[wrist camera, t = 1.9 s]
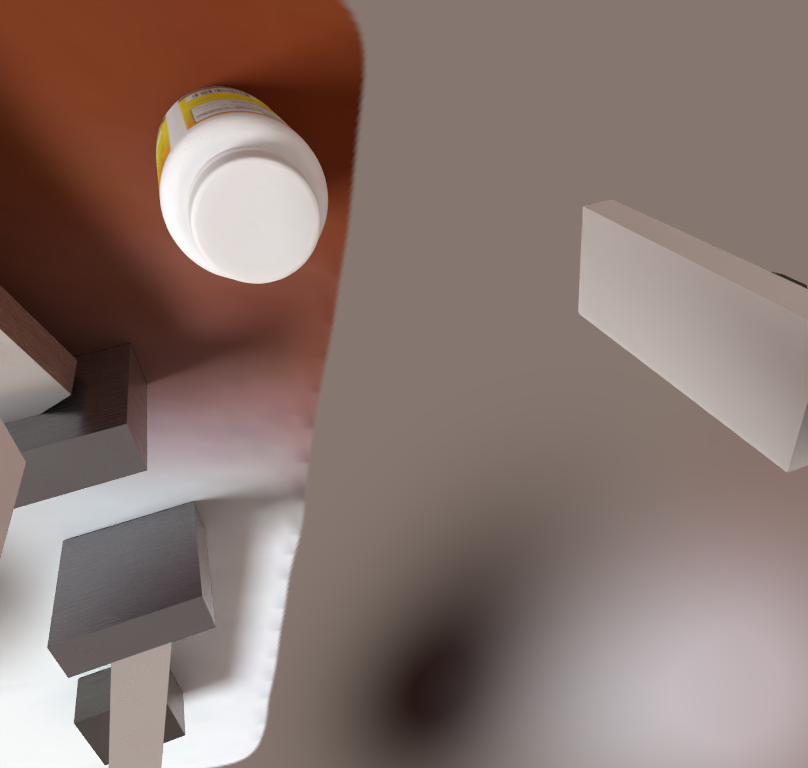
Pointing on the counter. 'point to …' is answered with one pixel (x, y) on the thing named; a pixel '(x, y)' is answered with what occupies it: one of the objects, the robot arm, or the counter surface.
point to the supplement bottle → (238, 186)
